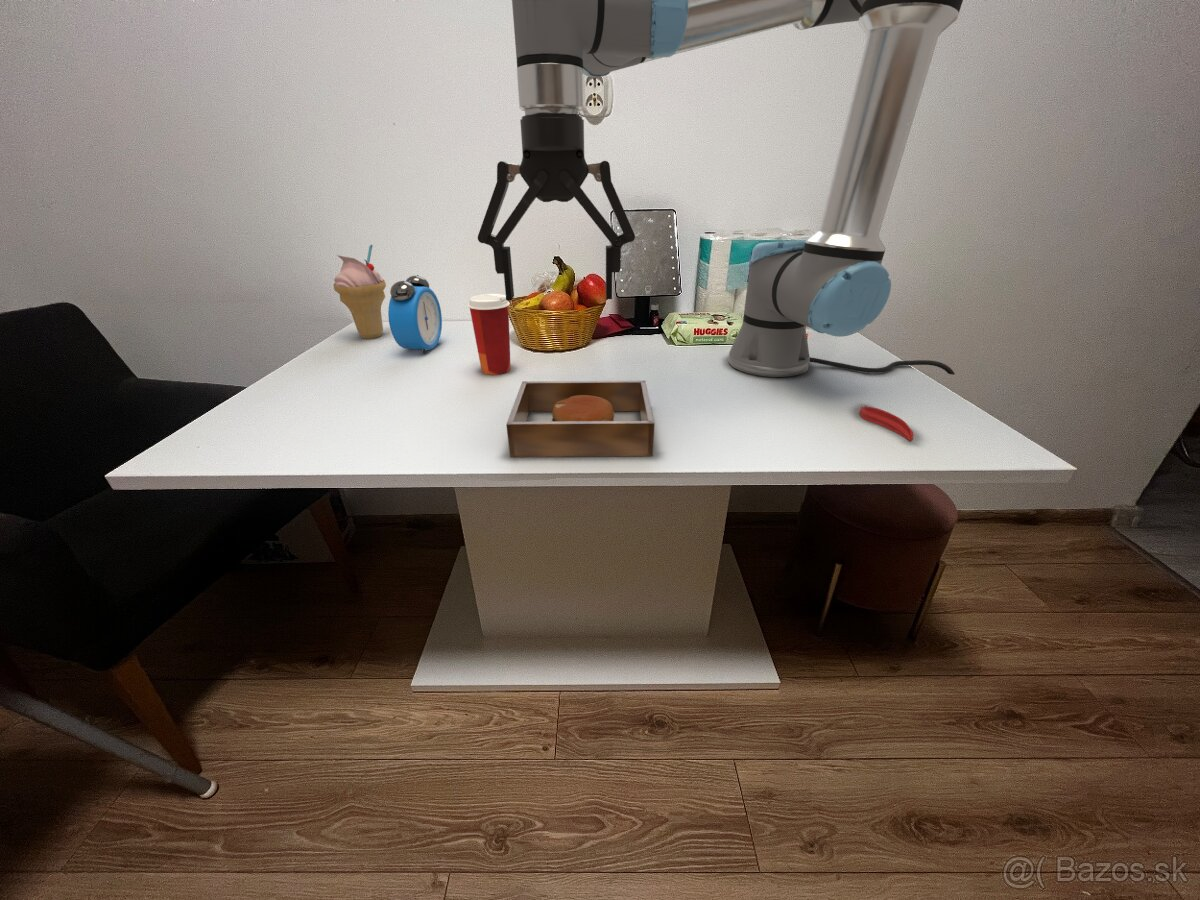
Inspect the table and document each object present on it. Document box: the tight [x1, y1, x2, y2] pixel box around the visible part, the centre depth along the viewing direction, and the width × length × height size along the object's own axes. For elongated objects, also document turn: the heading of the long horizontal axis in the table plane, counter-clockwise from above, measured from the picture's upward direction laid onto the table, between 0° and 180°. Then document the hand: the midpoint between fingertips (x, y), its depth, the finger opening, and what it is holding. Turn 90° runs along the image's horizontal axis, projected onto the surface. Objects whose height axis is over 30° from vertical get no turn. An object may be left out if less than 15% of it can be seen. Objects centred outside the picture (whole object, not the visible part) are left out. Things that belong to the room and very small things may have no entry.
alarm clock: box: [387, 274, 443, 355], centre depth 109 cm, size 13×6×15 cm, turn 173°
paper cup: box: [467, 293, 511, 376], centre depth 97 cm, size 8×8×14 cm
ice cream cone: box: [333, 244, 387, 340], centre depth 117 cm, size 11×11×20 cm
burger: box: [551, 395, 615, 421], centre depth 76 cm, size 10×9×5 cm
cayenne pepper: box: [858, 405, 914, 442], centre depth 78 cm, size 12×5×2 cm, turn 0°
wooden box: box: [506, 380, 655, 458], centre depth 75 cm, size 20×16×5 cm
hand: (559, 298), depth 70 cm, fingers open, 13 cm apart
